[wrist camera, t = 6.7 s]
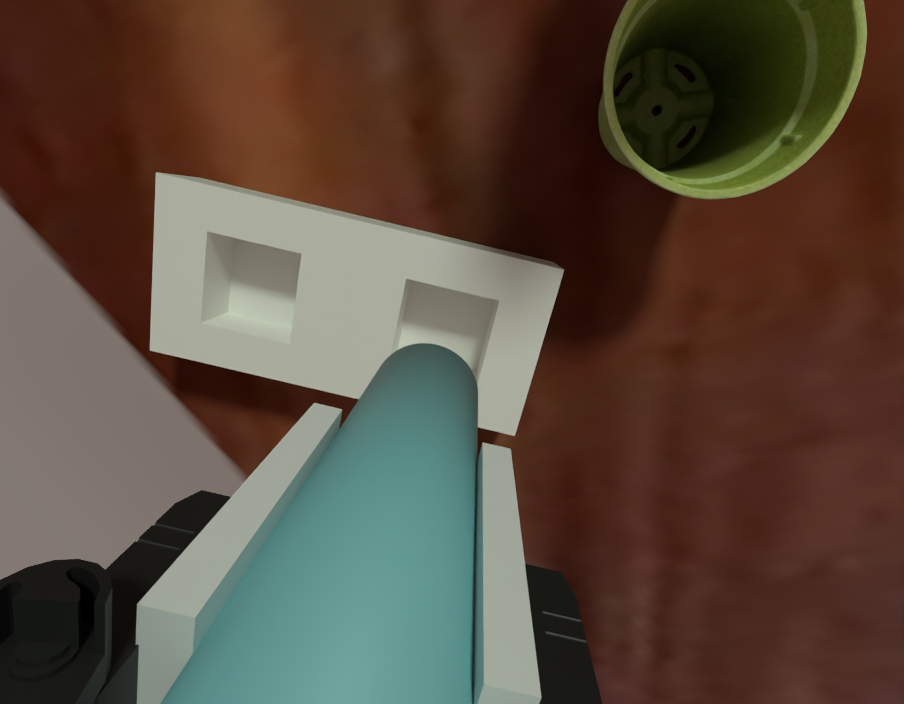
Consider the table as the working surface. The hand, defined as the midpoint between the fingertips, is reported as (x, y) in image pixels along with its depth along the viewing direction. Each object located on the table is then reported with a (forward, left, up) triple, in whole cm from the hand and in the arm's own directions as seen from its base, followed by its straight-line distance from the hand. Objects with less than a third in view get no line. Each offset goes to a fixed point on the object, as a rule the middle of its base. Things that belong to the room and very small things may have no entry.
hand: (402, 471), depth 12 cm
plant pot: (-14, +8, -18) cm, 25 cm away
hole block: (0, -6, -18) cm, 19 cm away
